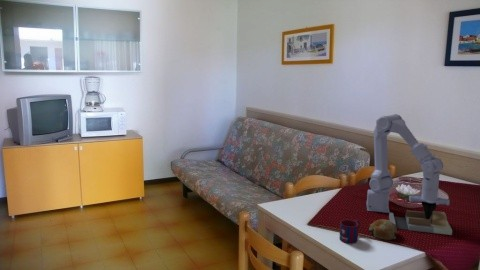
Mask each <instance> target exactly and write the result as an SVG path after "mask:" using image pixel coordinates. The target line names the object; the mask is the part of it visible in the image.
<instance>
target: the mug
mask: <svg viewBox="0 0 480 270" xmlns="http://www.w3.org/2000/svg"><path fill="white" fill-rule="evenodd" d="M339 223H340V224H339V240H340V242H342V243H345V244H351V245H353V244H356V243H358V241H359V240H358V239H359V230H360V221H359V220H357V219H356V220H354V219H353V220H352V219H342V220H341V221H339Z"/></svg>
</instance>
